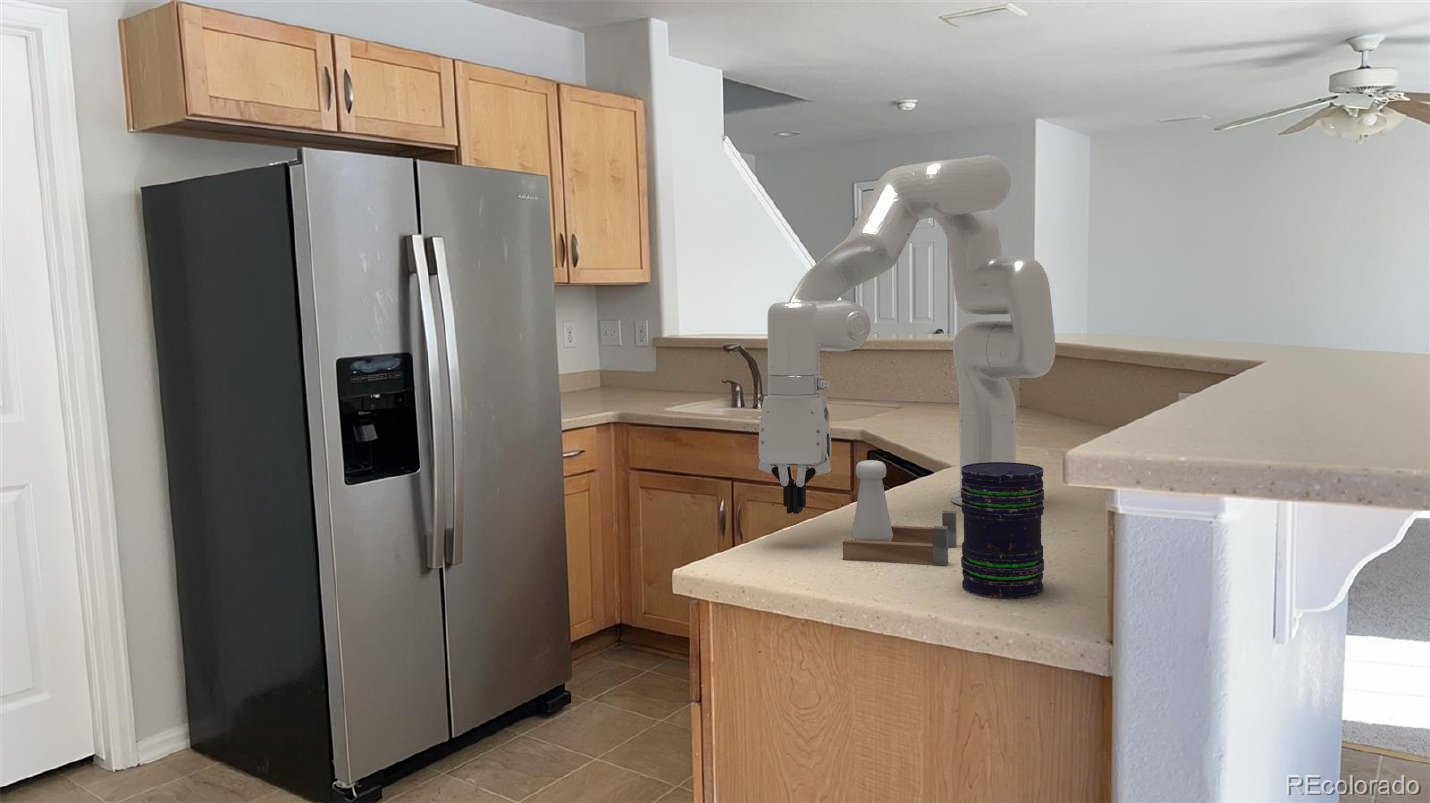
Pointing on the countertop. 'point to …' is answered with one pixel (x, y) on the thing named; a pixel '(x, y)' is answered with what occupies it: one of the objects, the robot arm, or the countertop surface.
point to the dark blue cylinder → (1002, 530)
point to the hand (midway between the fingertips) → (794, 511)
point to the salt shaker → (871, 504)
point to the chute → (908, 544)
